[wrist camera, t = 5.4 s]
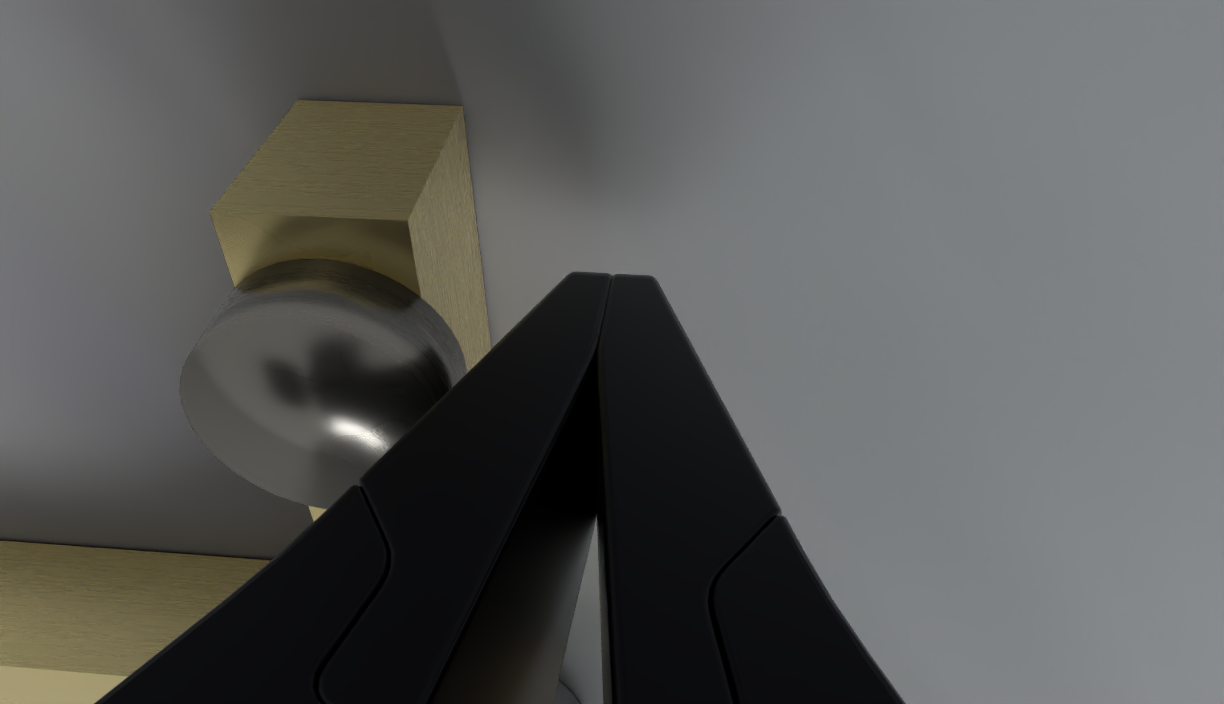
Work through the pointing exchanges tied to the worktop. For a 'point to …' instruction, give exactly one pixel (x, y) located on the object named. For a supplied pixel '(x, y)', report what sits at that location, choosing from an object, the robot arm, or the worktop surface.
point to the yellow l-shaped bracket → (281, 372)
